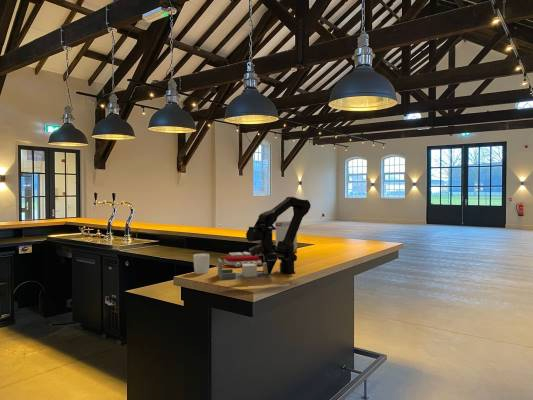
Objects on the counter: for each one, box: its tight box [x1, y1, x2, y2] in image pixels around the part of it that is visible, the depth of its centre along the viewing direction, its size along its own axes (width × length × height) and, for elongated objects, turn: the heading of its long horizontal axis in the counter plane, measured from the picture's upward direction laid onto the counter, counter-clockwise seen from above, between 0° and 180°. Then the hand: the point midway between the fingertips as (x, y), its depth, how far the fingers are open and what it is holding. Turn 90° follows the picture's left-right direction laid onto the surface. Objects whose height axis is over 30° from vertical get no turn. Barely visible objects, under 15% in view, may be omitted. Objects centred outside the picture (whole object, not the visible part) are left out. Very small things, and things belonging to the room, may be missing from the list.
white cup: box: [192, 253, 210, 275], centre depth 198 cm, size 8×8×10 cm
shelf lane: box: [217, 258, 273, 281], centre depth 188 cm, size 24×14×9 cm, turn 104°
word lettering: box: [223, 251, 263, 269], centre depth 224 cm, size 27×7×30 cm
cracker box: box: [274, 220, 298, 254], centre depth 266 cm, size 14×6×21 cm, turn 84°
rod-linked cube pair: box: [241, 262, 268, 277], centre depth 190 cm, size 13×6×6 cm, turn 104°
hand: (266, 272), depth 191 cm, fingers open, 9 cm apart
